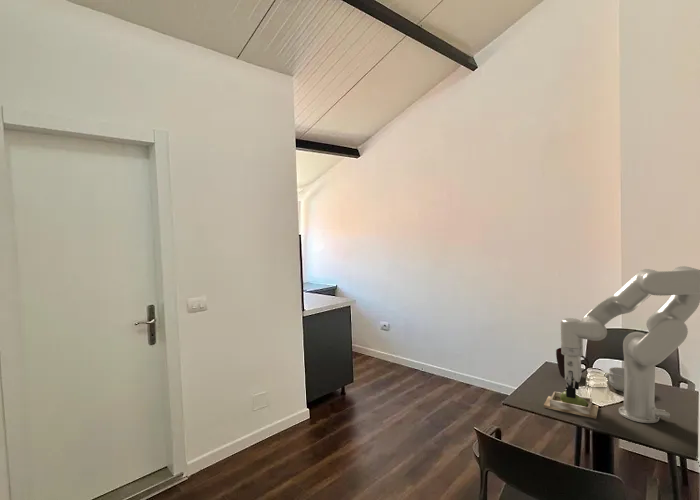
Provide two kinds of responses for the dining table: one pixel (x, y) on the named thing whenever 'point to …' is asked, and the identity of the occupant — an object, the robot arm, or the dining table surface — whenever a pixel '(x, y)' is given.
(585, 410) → the open rectangular box
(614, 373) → the teacup
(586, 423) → the dining table surface
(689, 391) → the dining table surface
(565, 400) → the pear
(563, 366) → the mug
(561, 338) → the robot arm
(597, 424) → the dining table surface
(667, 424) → the dining table surface
